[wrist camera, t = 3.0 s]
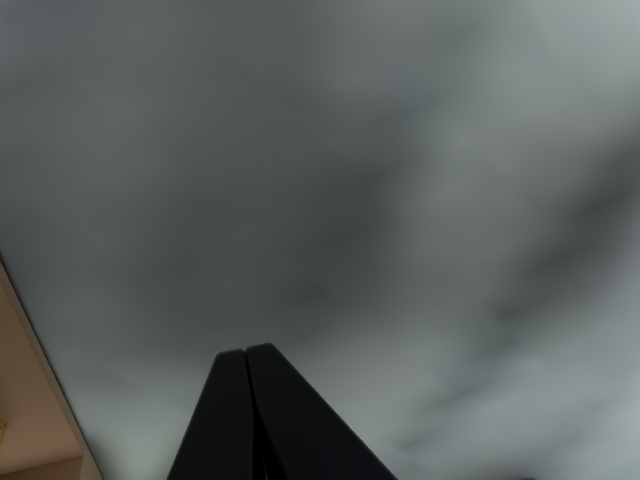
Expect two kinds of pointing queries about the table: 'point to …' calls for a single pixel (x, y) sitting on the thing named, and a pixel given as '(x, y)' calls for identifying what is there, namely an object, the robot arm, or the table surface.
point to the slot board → (34, 406)
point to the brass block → (2, 430)
